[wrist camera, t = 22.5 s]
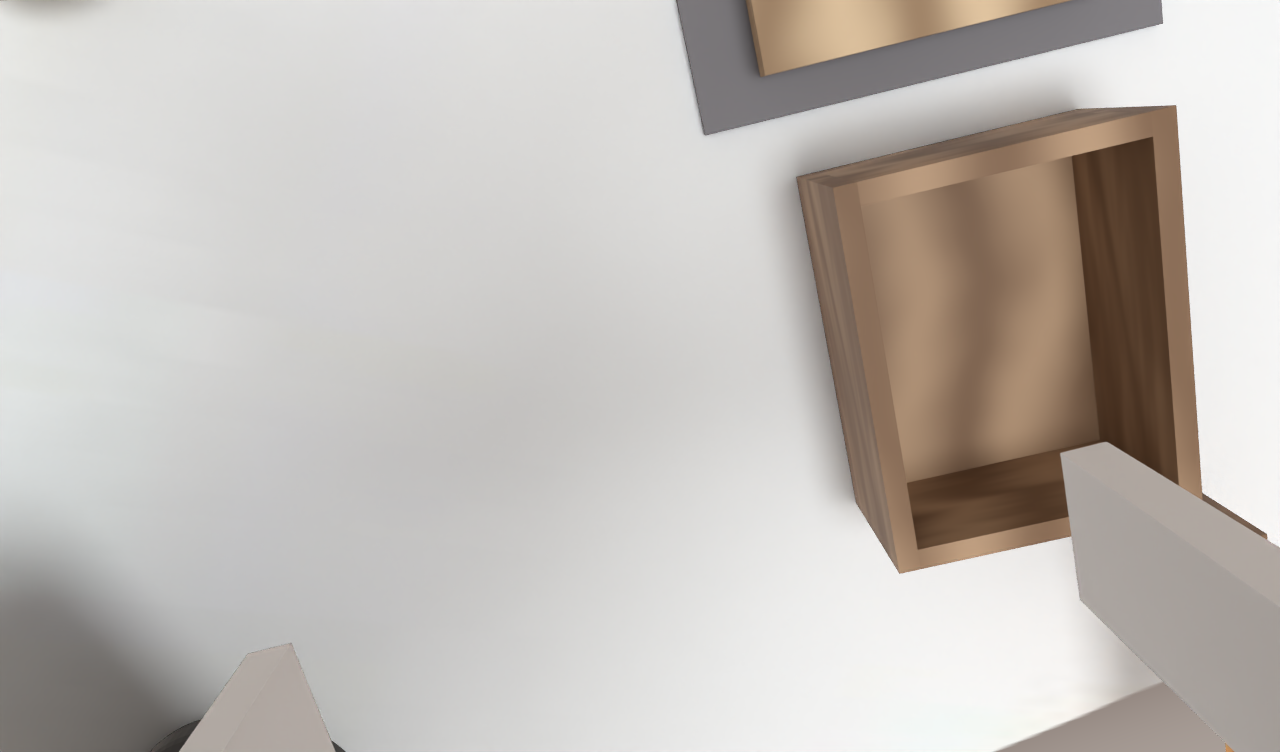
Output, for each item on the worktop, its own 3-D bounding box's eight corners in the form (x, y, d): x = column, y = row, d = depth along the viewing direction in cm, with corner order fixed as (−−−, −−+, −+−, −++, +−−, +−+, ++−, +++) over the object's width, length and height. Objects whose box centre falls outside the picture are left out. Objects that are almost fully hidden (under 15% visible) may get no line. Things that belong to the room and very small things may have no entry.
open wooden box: (879, 627, 51) (935, 739, 42) (796, 176, 44) (842, 190, 35) (1153, 568, 50) (1272, 668, 41) (1113, 100, 43) (1247, 93, 34)
